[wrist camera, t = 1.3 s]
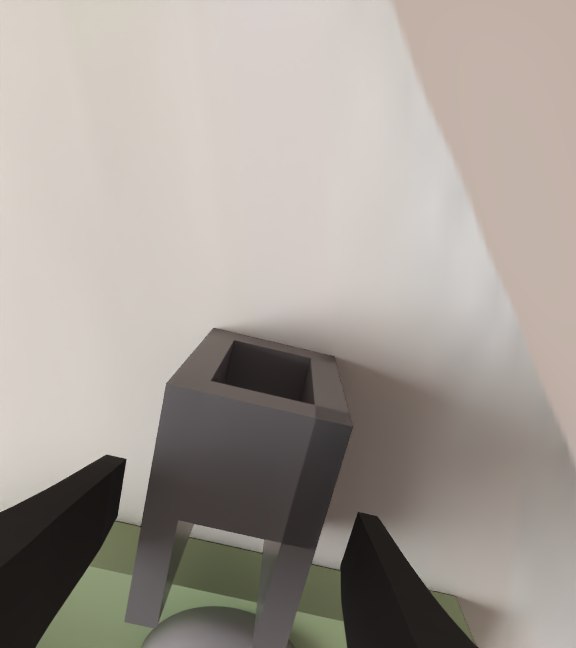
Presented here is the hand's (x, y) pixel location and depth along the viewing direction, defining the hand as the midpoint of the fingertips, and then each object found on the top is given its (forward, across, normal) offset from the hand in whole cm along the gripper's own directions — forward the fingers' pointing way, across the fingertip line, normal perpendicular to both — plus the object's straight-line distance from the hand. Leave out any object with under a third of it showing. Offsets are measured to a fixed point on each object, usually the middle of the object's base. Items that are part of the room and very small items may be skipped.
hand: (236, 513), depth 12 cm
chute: (+5, 0, 0) cm, 5 cm away
